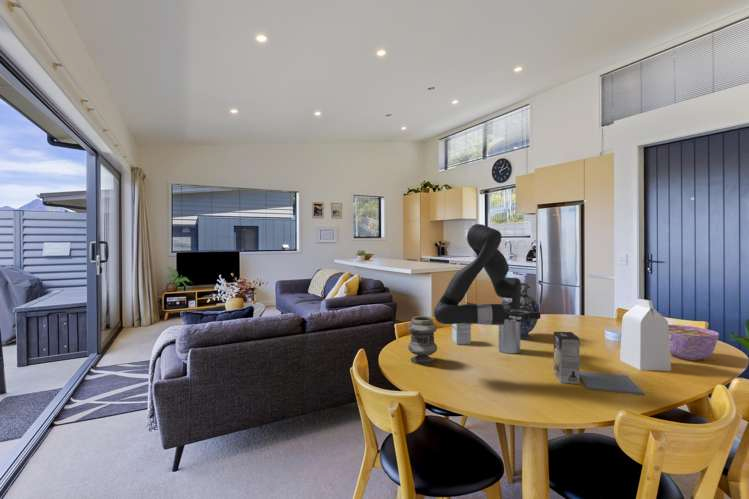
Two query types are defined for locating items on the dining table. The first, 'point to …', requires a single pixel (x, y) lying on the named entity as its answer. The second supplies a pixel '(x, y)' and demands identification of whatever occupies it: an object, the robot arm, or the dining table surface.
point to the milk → (645, 338)
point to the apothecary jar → (422, 339)
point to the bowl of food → (691, 342)
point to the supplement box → (461, 333)
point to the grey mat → (609, 382)
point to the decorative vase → (527, 305)
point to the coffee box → (566, 357)
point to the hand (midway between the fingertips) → (539, 315)
